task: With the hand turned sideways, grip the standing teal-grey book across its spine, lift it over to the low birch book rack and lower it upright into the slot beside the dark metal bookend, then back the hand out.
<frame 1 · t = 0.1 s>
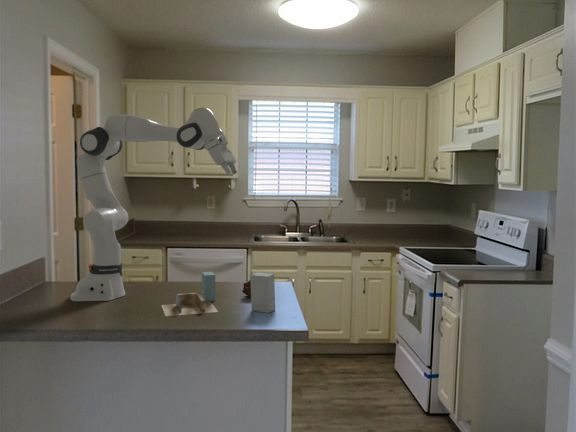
hand: (232, 173, 205), 54 cm above the countertop, tool tilted 30°, fingers open, 8 cm apart
book rack: (189, 310, 197), on the countertop
dragon fruit: (252, 297, 220), on the countertop
book: (208, 301, 211), on the countertop
skincare box: (262, 311, 199), on the countertop
metal bookend: (178, 309, 195), resting on book rack
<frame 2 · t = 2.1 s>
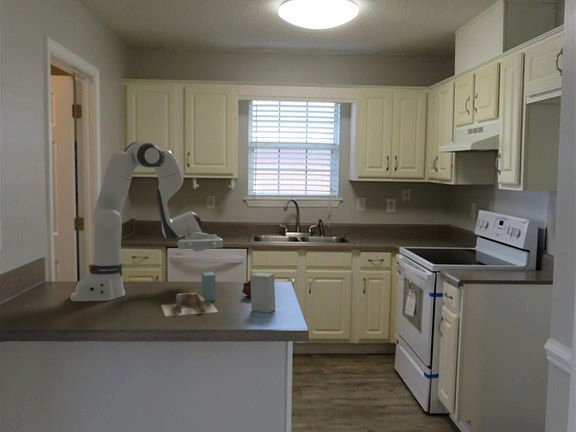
hand: (203, 246, 221), 22 cm above the countertop, tool horizontal, fingers open, 8 cm apart
nothing on the countertop moved.
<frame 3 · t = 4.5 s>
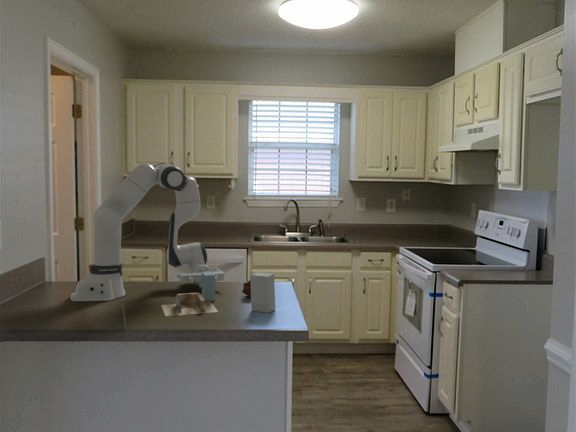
hand: (204, 280, 219), 7 cm above the countertop, tool horizontal, fingers open, 8 cm apart
nothing on the countertop moved.
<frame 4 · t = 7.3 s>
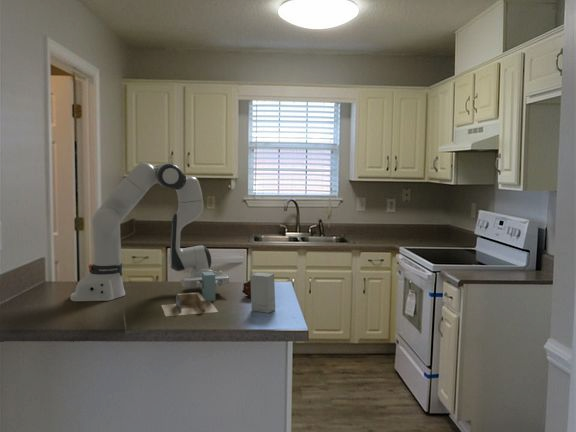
hand: (208, 285, 210), 7 cm above the countertop, tool horizontal, fingers closed on book, 4 cm apart
book: (208, 301, 211), on the countertop, touching gripper
everything else where it was.
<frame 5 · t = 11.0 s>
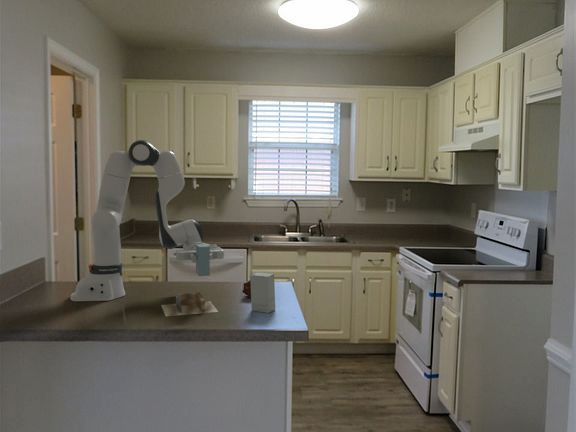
hand: (203, 257, 204), 20 cm above the countertop, tool horizontal, fingers closed on book, 4 cm apart
book: (202, 274, 206), point 13 cm above the countertop, touching gripper
everything else where it was.
when the fingers open (9 cm above the countertop, at t = 14.7 s): book drops 1 cm, resting on book rack.
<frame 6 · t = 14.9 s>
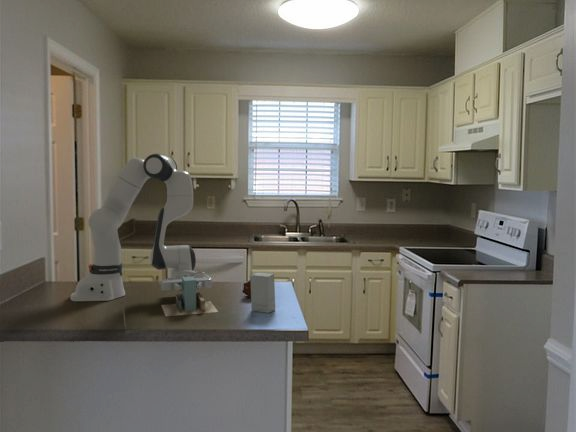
hand: (189, 287, 195), 9 cm above the countertop, tool horizontal, fingers open, 6 cm apart
book: (189, 308, 197), point 1 cm above the countertop, touching book rack
everything else where it was.
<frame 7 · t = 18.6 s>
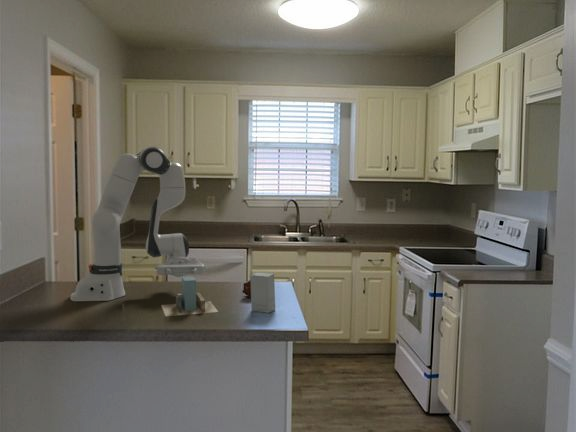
hand: (183, 272, 207), 13 cm above the countertop, tool horizontal, fingers open, 8 cm apart
nothing on the countertop moved.
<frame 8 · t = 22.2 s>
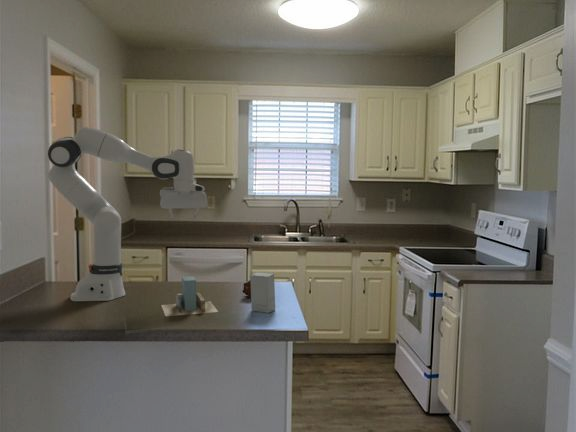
hand: (184, 218, 219), 34 cm above the countertop, tool pointing down, fingers open, 8 cm apart
nothing on the countertop moved.
at the end: book 0.0 cm off-centre on the book rack, point 1.0 cm above the book rack's base; book tilted 0°; the gripper is holding nothing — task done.
